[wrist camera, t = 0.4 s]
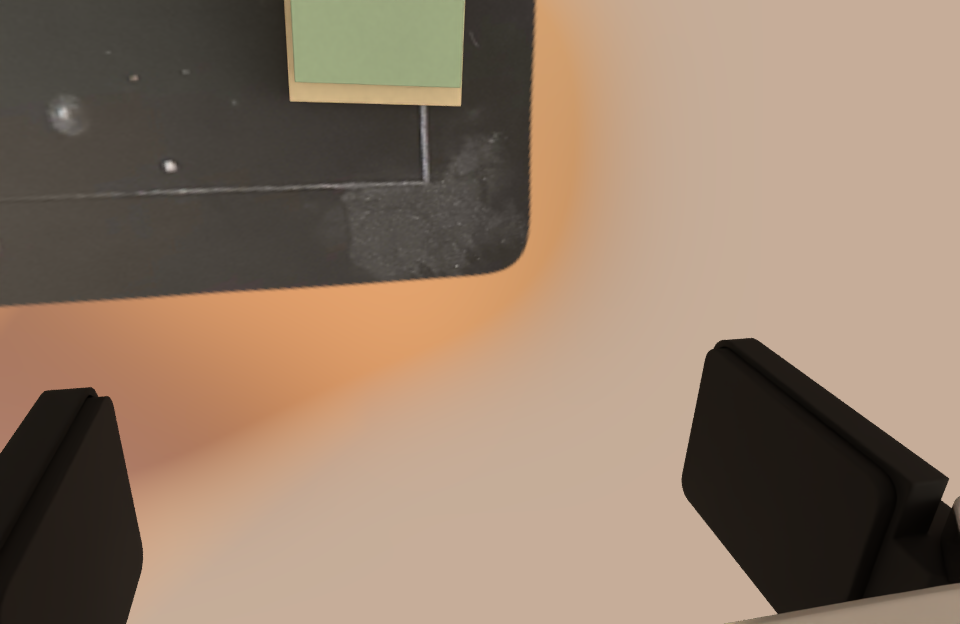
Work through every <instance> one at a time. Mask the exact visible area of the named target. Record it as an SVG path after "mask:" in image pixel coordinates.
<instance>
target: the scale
mask: <svg viewBox="0 0 960 624" xmlns="http://www.w3.org/2000/svg"><path fill="white" fill-rule="evenodd" d="M284 7H285V25H286V42H287V60H288V77H289V95H290V101H294V102H329V103H364V104H399V105H434V106H461V90H462V81H461V88H449V87H420V86H392V85H363V84H335V83H306V82H295V77H294V58H293V40H292V21H291V2H290V0H284ZM464 16H465V6H464ZM463 40H464V31H463ZM462 65H463V56H462Z"/></svg>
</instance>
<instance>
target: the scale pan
mask: <svg viewBox="0 0 960 624" xmlns="http://www.w3.org/2000/svg"><path fill="white" fill-rule="evenodd" d="M290 2H291V21H292V40H293V58H294V77H295V82H306V83H335V84H363V85H392V86H420V87H449V88H461V81H462V56H463V31H464V6H465V0H290Z"/></svg>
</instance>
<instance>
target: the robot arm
mask: <svg viewBox="0 0 960 624" xmlns="http://www.w3.org/2000/svg"><path fill="white" fill-rule="evenodd" d="M948 480H949V478H948V477H946V476H945V475H944V474H942V473H941V472H940V471H938V470H937V469H935V468H934V467H933V466H931V465H930V464H928V463H927V462H926V461H924V460H923V459H922V458H920V457H919V456H917V455H916V454H915V453H913V452H912V451H910V450H909V449H907V448H906V447H905V446H903V445H902V444H901V443H899V442H898V441H896V440H895V439H894V438H892V437H891V436H890V435H888V434H887V433H885V432H884V431H883V430H881V429H880V428H879V427H877V426H876V425H874V424H873V423H872V422H870V421H869V420H867V419H866V418H865V417H863V416H862V415H860V414H859V413H858V412H856V411H855V410H854V409H852V408H851V407H849V406H848V405H847V404H845V403H844V402H842V401H841V400H840V399H838V398H837V397H836V396H834V395H833V394H831V393H830V392H829V391H827V390H826V389H824V388H823V387H822V386H820V385H819V384H817V383H816V382H815V381H813V380H812V379H810V378H809V377H808V376H806V375H805V374H804V373H802V372H801V371H800V370H798V369H797V368H795V367H794V366H793V365H791V364H790V363H788V362H787V361H786V360H784V359H783V358H781V357H780V356H779V355H777V354H776V353H775V352H773V351H772V350H770V349H769V348H768V347H766V346H765V345H763V344H762V343H761V342H759V341H758V340H756V339H754V338H746V339H732V340H721V341H719V342H718V343H717V344H716V345H715V347H714V349H712V350H710V351H709V352H708V353H707V355H706V358H705V363H704V368H703V373H702V378H701V383H700V388H699V393H698V398H697V403H696V408H695V413H694V418H693V423H692V428H691V433H690V438H689V443H688V448H687V453H686V458H685V463H684V468H683V473H682V488H683V491H684V494H685V496H686V498H687V499H688V501H689V502H690V503H691V504H692V506H693V507H694V508H695V510H696V511H697V512H698V513H699V514H700V516H701V517H702V518H703V520H704V521H705V522H706V523H707V525H708V526H709V527H710V528H711V530H712V531H713V532H714V534H715V535H716V536H717V537H718V539H719V540H720V541H721V542H722V544H723V545H724V546H725V547H726V549H727V550H728V551H729V553H730V554H731V555H732V556H733V558H734V559H735V560H736V562H737V563H738V564H739V565H740V567H741V568H742V569H743V570H744V571H745V573H746V574H747V575H748V577H749V578H750V579H751V580H752V582H753V583H754V584H755V586H756V587H757V588H758V589H759V591H760V592H761V593H762V594H763V596H764V597H765V598H766V600H767V601H768V602H769V603H770V605H771V606H772V607H773V608H774V610H775V611H776V612H777V613H778V614H777V615H772V616H765V617H760V618H754V619H749V620H743V621H738V622H732V623H726V624H960V497H958V498H957V499H956V500H955V502H954V504H953V507H952V508H950V507H949V506H948V505H947V504H945V503H944V502H943V501H941V498H942V495H943V493H944V491H945V488H946V485H947V483H948ZM142 563H143V548H142V542H141V537H140V532H139V527H138V523H137V517H136V513H135V508H134V504H133V498H132V494H131V488H130V484H129V479H128V474H127V469H126V465H125V459H124V455H123V450H122V445H121V440H120V435H119V431H118V425H117V421H116V416H115V411H114V406H113V403H112V400H111V399H110V397H108V396H105V397H98V395H97V393H96V391H95V390H94V389H93V388H92V387H88V388H76V389H63V390H50V391H49V390H48V391H44V392H43V393H42V394H41V395H40V397H39V398H38V400H37V401H36V403H35V404H34V406H33V407H32V408H31V410H30V411H29V413H28V414H27V416H26V417H25V419H24V420H23V421H22V423H21V424H20V426H19V428H18V429H17V430H16V432H15V433H14V435H13V436H12V437H11V439H10V440H9V442H8V443H7V445H6V446H5V448H4V449H3V451H2V452H1V453H0V624H126V622H127V619H128V616H129V612H130V608H131V605H132V602H133V598H134V595H135V591H136V588H137V584H138V581H139V578H140V574H141V570H142Z"/></svg>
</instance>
